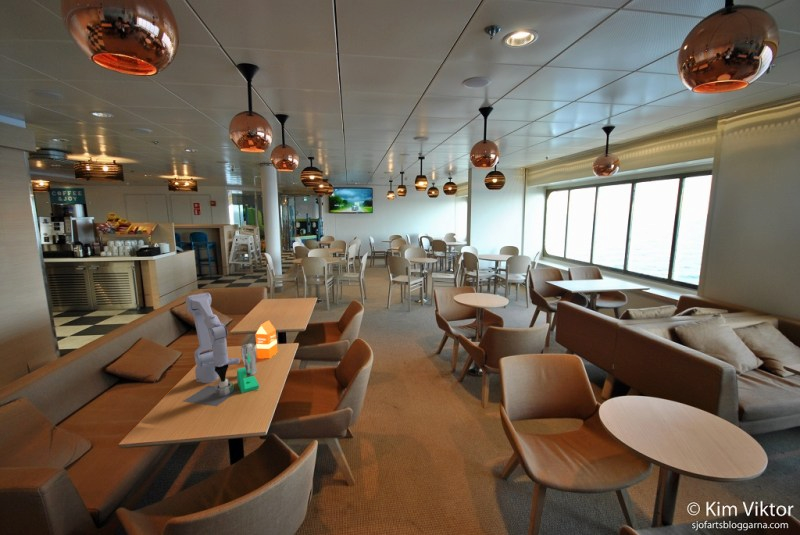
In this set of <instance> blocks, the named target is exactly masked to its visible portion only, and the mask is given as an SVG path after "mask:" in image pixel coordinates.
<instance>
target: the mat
mask: <svg viewBox="0 0 800 535" xmlns="http://www.w3.org/2000/svg"><path fill="white" fill-rule="evenodd" d="M215 386H216V385H210V384H209V385H207V386H205V387H204V388H202V389H201V390H199V391H197V392H195V393H193V394H192V395H190V396H189V397H187V398H186V399H184V400H183V402H187V403H192V404H198V405H204V406H206V405H207V406H211V407H212V406H213V407H218V406H219V405H221V404H222V403H223V402H225V401H226V400H228V399H229V398H230V397H232V396H234V395H235V394H236V393H238V392H239V391H241V390H240V388H239V389H237V388H234V391H233V393H232V394H230V395H228V396H225V397H217V396H216V395H215Z"/></svg>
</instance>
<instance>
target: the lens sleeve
mask: <svg viewBox="0 0 800 535" xmlns="http://www.w3.org/2000/svg"><path fill="white" fill-rule="evenodd" d="M214 386H215V395H216V396H217V397H225V396H228V395H230V394H232V393H233V391H234V389H235V388H234V383H233V382H232V381H228V387H226V388H222V389H220V388H219V383H218V384H217V385H214Z"/></svg>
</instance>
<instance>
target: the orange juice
mask: <svg viewBox="0 0 800 535" xmlns="http://www.w3.org/2000/svg"><path fill="white" fill-rule="evenodd" d="M254 334H255V342H256V343H255V346H256V353H257V359H264V358H270V359H271V358H273V357H274V356H275V355H277V354H278V353H277V352H278V340H277V332H276V328H275V326H274V325H273V324H272V323H271V321H270V320H267V321H265V322H264V323H261V324H260V326H259V328H258V329H257V331H256V333H254ZM276 353H277V354H276ZM273 355H274V356H273ZM272 356H273V357H272Z"/></svg>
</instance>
